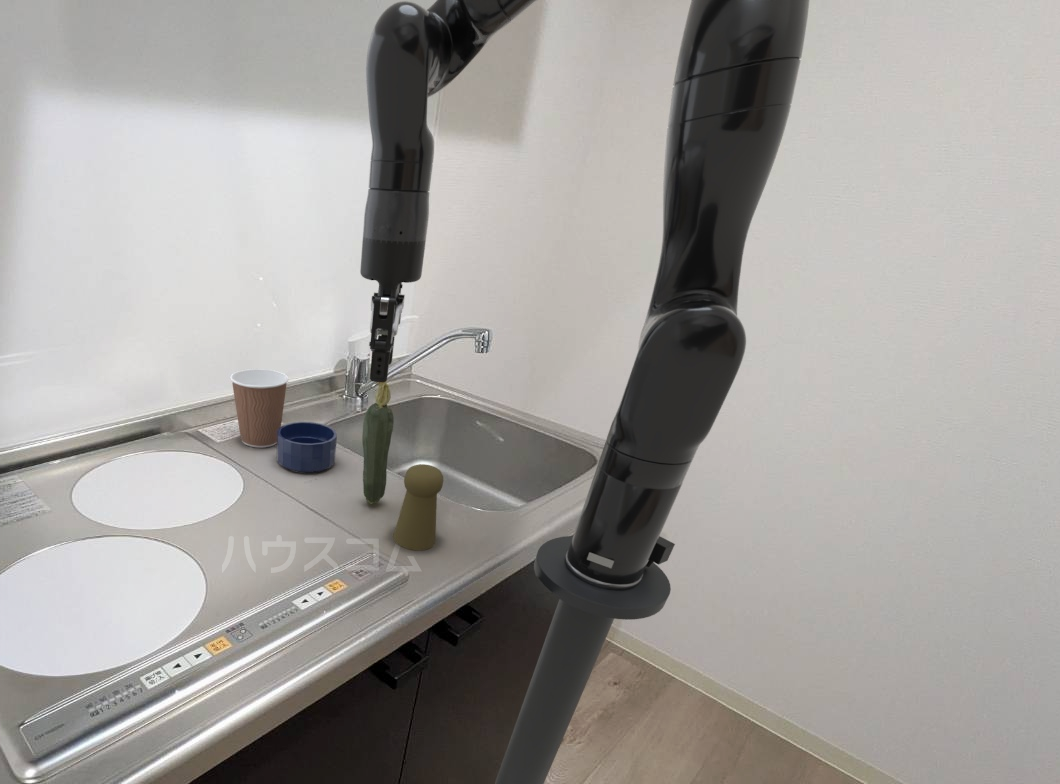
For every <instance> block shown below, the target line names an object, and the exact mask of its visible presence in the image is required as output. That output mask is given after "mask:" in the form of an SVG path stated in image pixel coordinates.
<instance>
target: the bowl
mask: <svg viewBox="0 0 1060 784" xmlns="http://www.w3.org/2000/svg"><path fill="white" fill-rule="evenodd" d="M337 440H338V433H337V431H336V430H335V429H334V428H333V427H331V426H329V425H326V424H323V423H320V422H314V421H297V422H289V423H286V424H283V425H281V427H280V428H279V429H278V431H277V443H276V460H277V463H278V464H279V465H281V466H282V467H284V468H285V469H287V470H289V471H292V472H295V473H300V474H313V473H315V474H316V473H320V472H323V471H326V470H327V469H329V468H331V467H332V466H333V465H335V462H336V457H337V442H338V441H337Z"/></svg>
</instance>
